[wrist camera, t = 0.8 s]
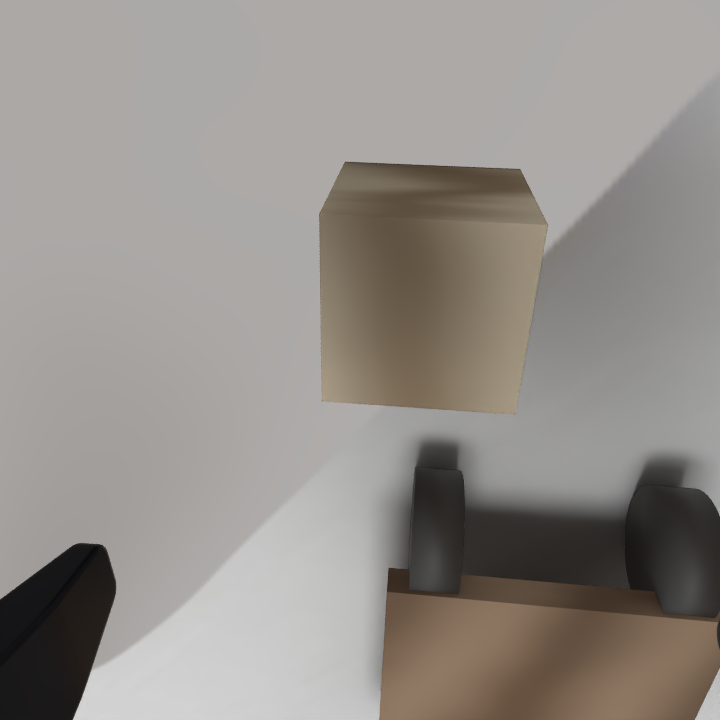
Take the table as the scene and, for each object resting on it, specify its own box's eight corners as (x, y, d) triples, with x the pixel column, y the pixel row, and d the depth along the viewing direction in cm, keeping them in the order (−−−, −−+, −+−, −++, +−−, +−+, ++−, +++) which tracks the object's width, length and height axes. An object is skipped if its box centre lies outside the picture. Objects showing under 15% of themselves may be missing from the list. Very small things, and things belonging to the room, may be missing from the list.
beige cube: (520, 168, 18) (548, 225, 14) (497, 325, 21) (515, 414, 16) (345, 161, 19) (319, 214, 14) (344, 316, 21) (322, 401, 17)
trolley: (712, 463, 22) (847, 694, 15) (605, 743, 31) (659, 975, 24) (397, 440, 23) (381, 648, 16) (380, 719, 32) (365, 937, 25)
